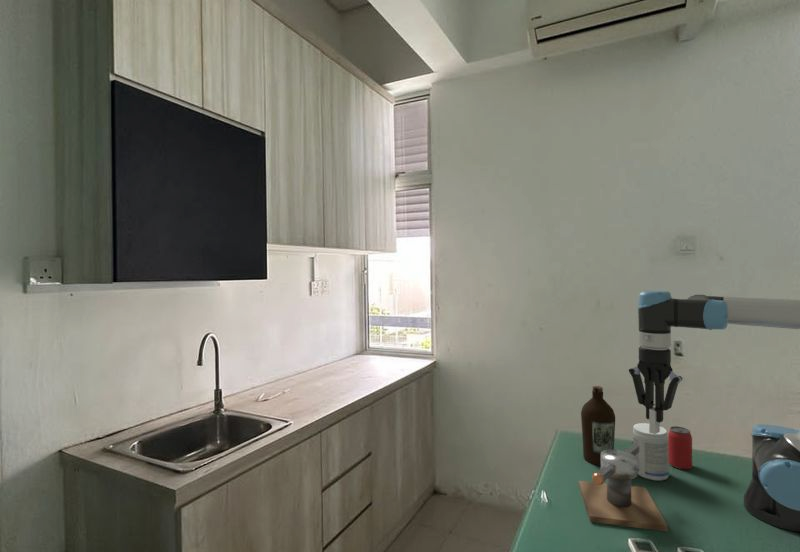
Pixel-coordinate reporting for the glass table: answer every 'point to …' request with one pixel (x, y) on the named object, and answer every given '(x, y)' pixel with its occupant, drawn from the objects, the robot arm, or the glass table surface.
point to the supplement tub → (651, 452)
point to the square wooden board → (621, 504)
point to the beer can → (680, 447)
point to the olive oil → (597, 426)
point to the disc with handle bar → (617, 464)
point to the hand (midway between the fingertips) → (654, 432)
